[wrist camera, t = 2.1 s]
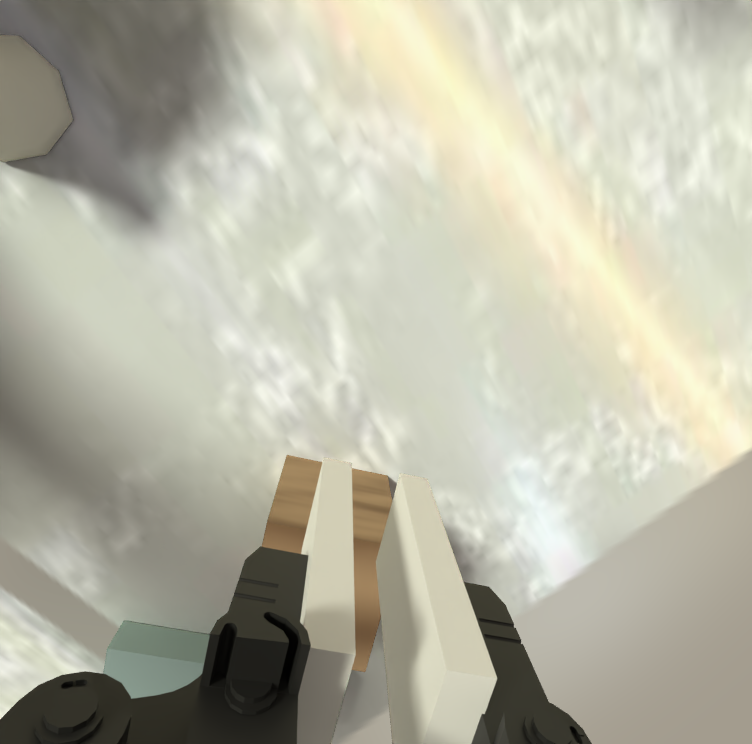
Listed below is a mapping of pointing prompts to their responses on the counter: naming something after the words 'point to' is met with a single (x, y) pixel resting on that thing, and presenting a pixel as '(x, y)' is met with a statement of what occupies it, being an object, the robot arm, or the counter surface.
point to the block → (368, 531)
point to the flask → (29, 101)
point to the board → (155, 658)
